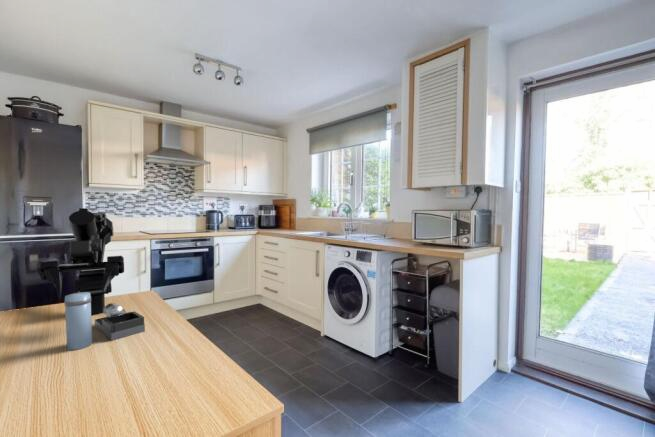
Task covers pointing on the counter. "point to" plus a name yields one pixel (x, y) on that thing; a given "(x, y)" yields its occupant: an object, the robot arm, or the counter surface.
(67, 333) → the dome-capped cylinder
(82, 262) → the robot arm
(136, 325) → the dark grey open box
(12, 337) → the counter surface
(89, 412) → the counter surface
